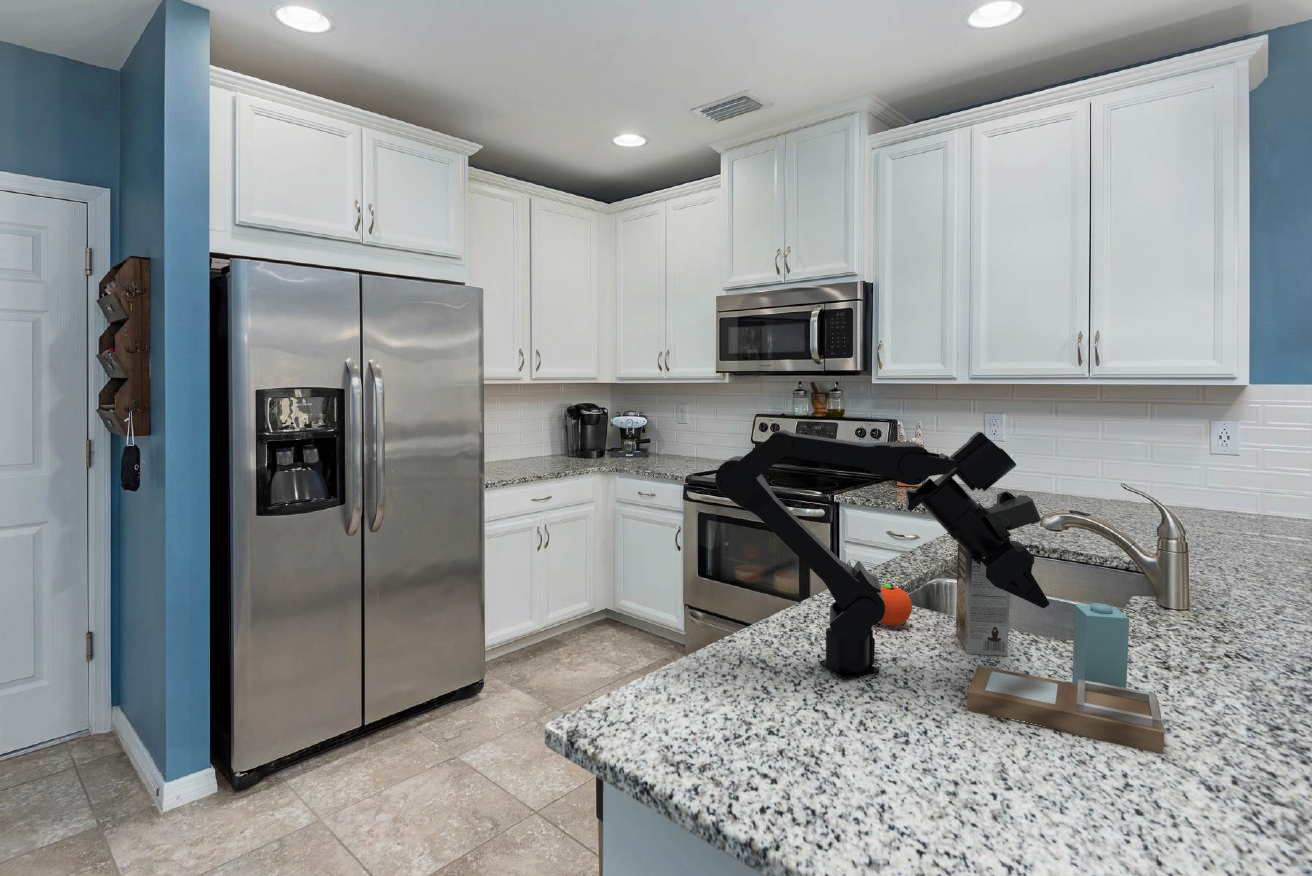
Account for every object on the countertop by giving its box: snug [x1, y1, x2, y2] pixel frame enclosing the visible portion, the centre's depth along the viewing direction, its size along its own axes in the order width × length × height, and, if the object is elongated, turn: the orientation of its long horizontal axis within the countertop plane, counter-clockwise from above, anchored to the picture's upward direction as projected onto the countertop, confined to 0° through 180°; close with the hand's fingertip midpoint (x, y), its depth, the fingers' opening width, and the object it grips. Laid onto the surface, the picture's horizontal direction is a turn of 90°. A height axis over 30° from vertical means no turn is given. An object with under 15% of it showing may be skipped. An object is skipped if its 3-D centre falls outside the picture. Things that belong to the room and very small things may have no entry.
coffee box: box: [955, 542, 1011, 657], centre depth 114 cm, size 9×6×16 cm
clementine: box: [879, 584, 913, 627], centre depth 125 cm, size 8×7×7 cm
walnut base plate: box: [966, 665, 1165, 754], centre depth 90 cm, size 21×10×4 cm, turn 58°
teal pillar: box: [1071, 602, 1130, 688], centre depth 96 cm, size 5×5×12 cm
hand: (1036, 595), depth 98 cm, fingers open, 9 cm apart
